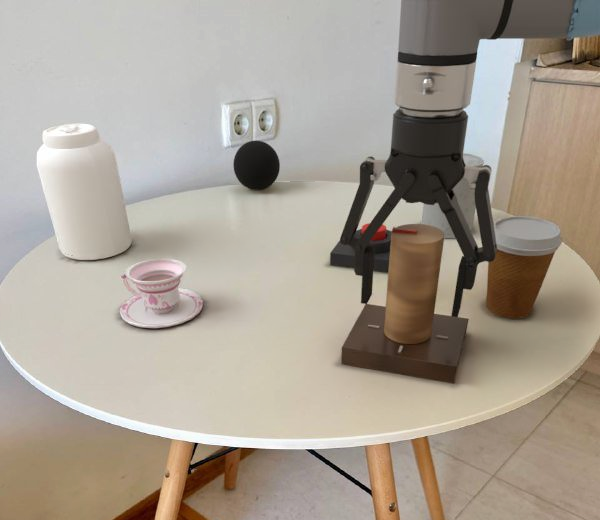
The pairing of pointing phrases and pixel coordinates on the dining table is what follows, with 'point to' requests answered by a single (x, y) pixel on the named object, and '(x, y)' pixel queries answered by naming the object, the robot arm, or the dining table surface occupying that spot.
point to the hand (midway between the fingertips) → (410, 305)
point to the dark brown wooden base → (406, 347)
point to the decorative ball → (256, 165)
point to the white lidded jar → (83, 192)
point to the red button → (379, 234)
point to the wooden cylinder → (412, 282)
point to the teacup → (158, 295)
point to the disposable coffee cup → (520, 264)
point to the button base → (346, 254)
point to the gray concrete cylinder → (464, 197)
